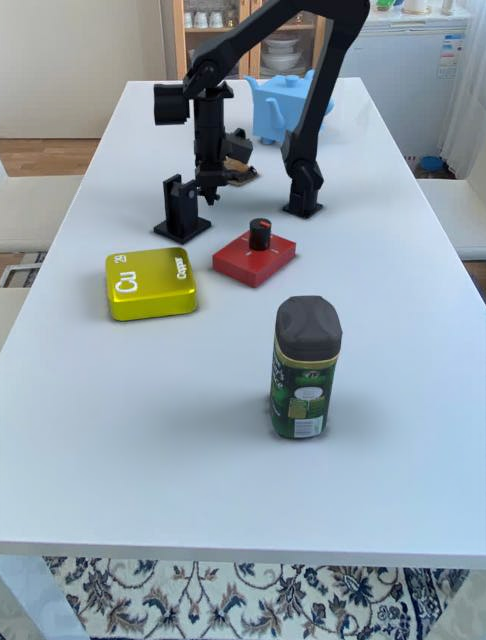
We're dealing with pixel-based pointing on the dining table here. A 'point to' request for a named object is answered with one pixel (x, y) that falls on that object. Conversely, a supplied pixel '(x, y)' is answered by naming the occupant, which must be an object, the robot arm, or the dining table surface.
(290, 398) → the coffee jar
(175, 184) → the black lever handle
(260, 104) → the teakettle
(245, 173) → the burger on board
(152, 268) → the element tile
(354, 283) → the dining table surface
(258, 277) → the dial panel
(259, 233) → the knob
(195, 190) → the lever bracket
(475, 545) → the dining table surface
